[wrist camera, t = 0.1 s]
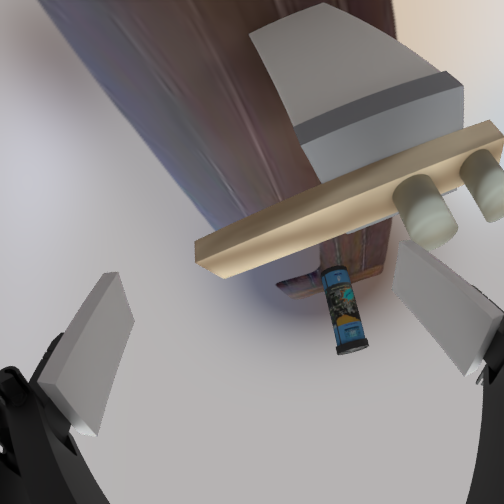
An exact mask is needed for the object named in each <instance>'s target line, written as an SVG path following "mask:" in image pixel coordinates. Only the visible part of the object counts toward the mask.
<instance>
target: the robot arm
mask: <svg viewBox="0 0 504 504" xmlns="http://www.w3.org/2000/svg"><path fill="white" fill-rule="evenodd" d="M392 291H393V292H394V293H395V294H396V295H397V296H398V297H399V299H400V300H401V301H402V302H403V303H404V304H405V305H406V306H407V307H408V309H409V310H410V311H411V312H412V313H413V314H414V315H415V317H416V318H417V319H418V320H419V321H420V322H421V324H422V325H423V326H424V327H425V328H426V329H427V331H428V332H429V333H430V334H431V335H432V337H433V338H434V339H435V340H436V341H437V343H438V344H439V345H440V346H441V347H442V349H443V350H444V351H445V352H446V354H447V355H448V356H449V357H450V359H451V360H452V361H453V363H454V364H455V365H456V366H457V368H458V369H459V370H460V372H461V373H462V374H463V376H464V377H465V376H467V375H469V374H471V373H473V372H475V371H476V370H477V368H478V367H479V365H480V363H481V361H482V359H484V360H485V362H486V363H487V364H486V365H485V367H484V369H483V370H482V372H481V374H480V375H479V377H478V379H477V381H476V384H478V383H479V382H480V380H481V379H482V378H483V382H482V384H481V385H483V408H482V422H481V431H480V439H479V446H478V453H477V458H476V464H475V469H474V474H473V478H472V483H471V487H470V491H469V494H468V498H467V502H466V504H504V311H503V310H501V309H500V308H499V307H498V306H497V305H496V304H495V303H493V302H492V301H491V300H490V299H488V297H487V296H485V295H484V294H482V292H481V291H480V290H478V289H477V288H476V287H475V286H473V285H471V284H469V283H468V282H467V281H466V280H464V279H463V278H462V277H461V276H459V275H458V274H457V273H455V272H454V271H453V270H452V269H450V268H449V267H448V266H447V265H445V264H444V263H442V262H441V261H440V260H439V259H437V258H436V257H435V256H433V255H432V254H430V253H429V252H428V251H426V250H425V249H424V248H422V247H421V246H419V245H418V244H417V243H415V242H414V241H412V240H407V241H400V242H399V249H398V256H397V262H396V269H395V275H394V280H393V285H392ZM133 324H134V318H133V315H132V312H131V310H130V307H129V304H128V301H127V298H126V295H125V292H124V289H123V285H122V282H121V279H120V276H119V272H110V273H104V274H103V275H102V277H101V278H100V279H99V281H98V282H97V284H96V285H95V286H94V288H93V289H92V291H91V292H90V294H89V295H88V297H87V298H86V300H85V301H84V303H83V304H82V306H81V307H80V309H79V310H78V312H77V313H76V315H75V317H74V318H73V320H72V321H71V323H70V325H69V326H68V328H67V330H66V331H65V333H60V334H59V335H58V336H57V337H56V338H55V339H54V340H53V341H52V342H51V344H50V346H49V347H48V349H47V352H46V353H45V354H44V356H43V359H41V361H40V363H39V365H38V366H37V368H36V370H35V372H34V373H33V375H32V377H31V379H30V381H29V383H28V382H27V381H26V379H25V378H24V376H23V375H22V374H21V372H20V371H19V369H18V368H16V367H14V366H9V367H5V368H3V369H2V370H0V445H1V446H2V447H3V452H2V453H1V452H0V504H110V503H109V501H108V500H107V498H106V497H105V495H104V494H103V492H102V490H101V489H100V487H99V485H98V484H97V482H96V480H95V479H94V477H93V475H92V473H91V472H90V470H89V468H88V466H87V464H86V462H85V461H84V459H83V457H82V455H81V453H80V451H79V449H78V447H77V444H76V442H75V440H74V438H73V436H72V435H71V434H70V433H69V429H70V426H71V425H72V426H73V427H74V428H75V429H76V430H77V431H78V432H79V434H85V435H91V436H96V437H97V436H98V432H99V428H100V424H101V421H102V418H103V414H104V411H105V407H106V404H107V400H108V397H109V394H110V391H111V387H112V384H113V381H114V378H115V375H116V372H117V369H118V366H119V363H120V360H121V357H122V354H123V352H124V349H125V346H126V343H127V340H128V338H129V335H130V332H131V330H132V327H133Z"/></svg>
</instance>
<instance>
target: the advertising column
mask: <svg viewBox="0 0 504 504" xmlns="http://www.w3.org/2000/svg"><path fill="white" fill-rule="evenodd" d="M321 279H322V283H323V287H324V291H325V295H326V299H327V303H328V307H329V311H330V316H331V320H332V324H333V329H334V333H335V338H336V342H337V347H336V350H337V354H338V355H343V354H348V353H352V352H355V351H359V350H361V349H364V348H367V347H368V346H369V344H368V340H367V338H365V335H364V331H363V327H362V323H361V319H360V315H359V311H358V307H357V304H356V300H355V297H354V293H353V290H352V286H351V282H350V279H349V275H348V272H347V269H346V267H345V266H334V267H331V268H328V269H326V270H324V271H323V272H322V273H321Z"/></svg>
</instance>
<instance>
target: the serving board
mask: <svg viewBox="0 0 504 504" xmlns="http://www.w3.org/2000/svg"><path fill="white" fill-rule="evenodd" d="M503 144H504V136H503V134H502V133H501V132H500V131H499V130H498V128H497V127H496V126H495V125H494V124H493V123H492V122H491V121H490V120H487V121H484V122H481V123H479V124H475V125H473V126H470V127H467V128H464V129H461V130H458V131H455V132H453V133H450V134H447V135H444V136H442V137H439V138H436V139H434V140H431V141H428V142H425V143H423V144H420V145H418V146H415V147H412V148H410V149H407V150H404V151H402V152H399V153H397V154H394V155H392V156H389V157H387V158H384V159H381V160H379V161H376V162H374V163H371V164H369V165H366V166H364V167H362V168H359V169H357V170H354V171H352V172H349V173H347V174H344V175H342V176H340V177H337V178H335V179H332V180H330V181H328V182H325V183H323V184H321V185H318V186H316V187H314V188H311V189H309V190H307V191H304V192H302V193H300V194H297V195H295V196H293V197H290V198H288V199H286V200H284V201H281V202H279V203H277V204H275V205H272V206H270V207H268V208H266V209H263V210H261V211H259V212H257V213H254V214H252V215H250V216H248V217H246V218H243V219H241V220H239V221H237V222H235V223H233V224H230V225H228V226H226V227H224V228H222V229H220V230H217V231H215V232H213V233H211V234H209V235H207V236H205V237H203V238H200V239H198V240H196V241H195V263H196V264H198V265H200V266H202V267H203V268H205V269H207V270H209V271H211V272H212V273H214V274H216V275H218V276H220V277H222V278H224V279H226V278H228V277H231V276H234V275H236V274H239V273H242V272H244V271H247V270H250V269H252V268H255V267H258V266H260V265H263V264H265V263H268V262H271V261H274V260H276V259H279V258H281V257H284V256H287V255H289V254H292V253H294V252H297V251H300V250H302V249H305V248H307V247H310V246H313V245H315V244H318V243H320V242H323V241H325V240H328V239H331V238H333V237H336V236H338V235H341V234H343V233H346V232H348V231H351V230H354V229H356V228H359V227H361V226H364V225H366V224H369V223H371V222H374V221H376V220H379V219H381V218H384V217H386V216H389V215H391V214H394V213H396V212H399V214H400V216H401V219H402V221H403V223H404V225H405V227H406V229H407V232H408V234H409V236H410V238H411V240H412V241H414V242H415V243H417V244H418V245H419V246H421V247H422V248H424V249H425V250H426V251H431V250H434V249H436V248H438V247H440V246H442V245H444V244H445V243H446V242H448V241H449V240H450V239H451V238H452V237H453V236H454V235H455V234H456V232H457V230H458V225H457V223H456V221H455V219H454V217H453V216H452V214H451V212H450V210H449V208H448V206H447V205H446V203H445V201H444V199H443V198H442V196H441V194H443V193H445V192H447V191H450V190H452V189H455V188H457V187H459V186H462V185H464V184H465V185H466V187H467V188H468V190H469V191H470V193H471V195H472V196H473V198H474V200H475V201H476V203H477V205H478V207H479V208H480V210H481V212H482V214H483V216H484V218H485V219H486V221H487V222H489V223H491V222H495V221H497V220H499V219H501V218H503V217H504V170H503V169H502V168H501V166H500V165H499V162H500V158H501V153H502V149H503Z"/></svg>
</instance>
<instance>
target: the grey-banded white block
mask: <svg viewBox="0 0 504 504" xmlns="http://www.w3.org/2000/svg"><path fill="white" fill-rule="evenodd" d="M248 35H249V37H250V38H251V40H252V42H253V44H254V46H255V48H256V49H257V51H258V53H259V55H260V57H261V59H262V61H263V63H264V65H265V67H266V69H267V71H268V73H269V75H270V77H271V79H272V81H273V83H274V85H275V87H276V89H277V91H278V93H279V96H280V98H281V100H282V102H283V104H284V106H285V109H286V111H287V113H288V115H289V117H290V120H291V122H292V124H293V126H294V127H293V128H294V131H295V133H296V135H297V138H298V140H299V143H300V145H301V147H302V149H303V150H304V152H305V154H306V156H307V157H308V159H309V161H310V163H311V165H312V166H313V168H314V170H315V172H316V174H317V176H318V177H319V179H320V181H321V183H322V184H323V183H325V182H328V181H330V180H332V179H335V178H337V177H340V176H342V175H344V174H347V173H349V172H352V171H354V170H357V169H359V168H362V167H364V166H366V165H369V164H371V163H374V162H376V161H379V160H381V159H384V158H387V157H389V156H392V155H394V154H397V153H399V152H402V151H404V150H407V149H410V148H412V147H415V146H418V145H420V144H423V143H425V142H428V141H431V140H434V139H436V138H439V137H442V136H444V135H447V134H450V133H453V132H455V131H458V130H461V129H463V122H464V120H463V119H464V86H463V85H462V84H461V83H460V82H459V81H458V80H456V79H455V78H454V77H453V76H451V75H450V74H449V73H448V72H447V71H443V72H440V71H439V70H438V69H436V68H435V67H434V66H433V65H431V64H430V63H429V62H427V61H426V60H424V59H423V58H422V57H420V56H419V55H418V54H416V53H415V52H413V51H412V50H410V49H409V48H408V47H406V46H404V45H403V44H401V43H400V42H398V41H397V40H395V39H394V38H392V37H390V36H389V35H387V34H385V33H384V32H382V31H380V30H379V29H377V28H375V27H373V26H372V25H370V24H368V23H366V22H364V21H362V20H360V19H358V18H356V17H354V16H352V15H350V14H348V13H346V12H344V11H342V10H340V9H338V8H335V7H333V6H331V5H329V4H326V3H321V4H318V5H315V6H312V7H309V8H307V9H304V10H301V11H299V12H296V13H294V14H291V15H289V16H286V17H284V18H282V19H279V20H277V21H275V22H273V23H270V24H268V25H266V26H264V27H262V28H260V29H258V30H256V31H254V32H252V33H250V34H248ZM456 190H457V188H455V189H452V190H450V191H447V192H445V193H443V194H441V196H444V195H446V194H449V193H451V192H453V191H456ZM397 214H399V212H396V213H394V214H391V215H389V216H386V217H384V218H381V219H379V220H376V221H374V222H371V223H369V224H366V225H364V226H361V227H359V228H356V229H354V230H351V231H348V232H346V233H347V234H350V233H352V232H355V231H357V230H360V229H362V228H365V227H368V226H370V225H373V224H375V223H378V222H380V221H383V220H385V219H388V218H390V217H393V216H395V215H397Z"/></svg>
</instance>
